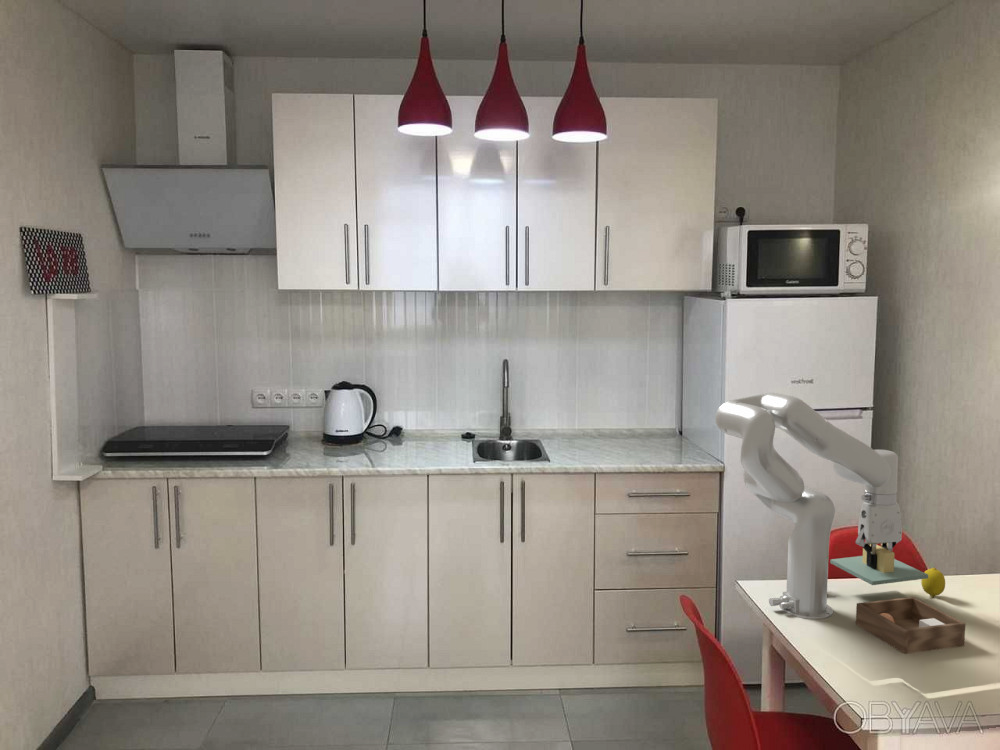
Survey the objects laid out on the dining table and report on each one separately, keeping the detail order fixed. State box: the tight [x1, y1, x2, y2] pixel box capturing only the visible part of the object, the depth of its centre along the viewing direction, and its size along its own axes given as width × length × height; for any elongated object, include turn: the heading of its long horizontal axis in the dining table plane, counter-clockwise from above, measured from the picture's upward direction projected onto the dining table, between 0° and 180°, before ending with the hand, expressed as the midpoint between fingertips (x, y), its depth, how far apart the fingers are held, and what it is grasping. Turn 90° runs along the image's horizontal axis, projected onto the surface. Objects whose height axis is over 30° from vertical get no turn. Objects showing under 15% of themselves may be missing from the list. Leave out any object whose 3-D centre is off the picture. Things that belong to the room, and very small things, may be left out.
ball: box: [880, 613, 895, 623], centre depth 187 cm, size 4×4×4 cm
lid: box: [829, 544, 928, 586], centre depth 206 cm, size 16×16×6 cm
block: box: [919, 618, 944, 628], centre depth 182 cm, size 4×4×4 cm
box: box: [855, 596, 966, 655], centre depth 184 cm, size 16×16×6 cm
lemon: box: [920, 567, 946, 598], centre depth 208 cm, size 6×6×8 cm
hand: (877, 565), depth 206 cm, fingers closed on lid, 3 cm apart
